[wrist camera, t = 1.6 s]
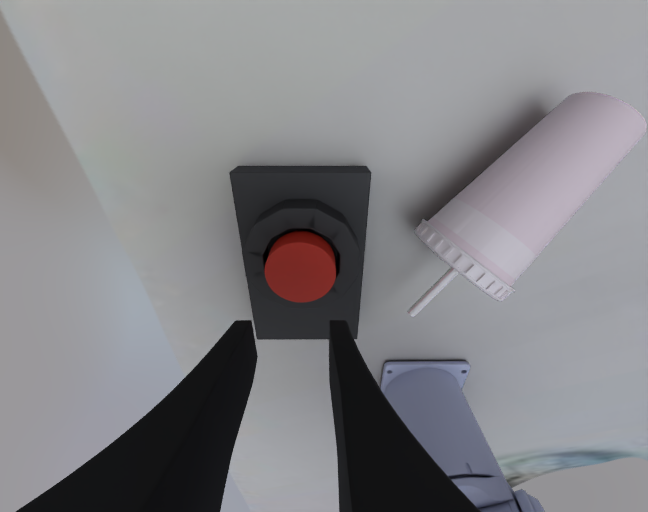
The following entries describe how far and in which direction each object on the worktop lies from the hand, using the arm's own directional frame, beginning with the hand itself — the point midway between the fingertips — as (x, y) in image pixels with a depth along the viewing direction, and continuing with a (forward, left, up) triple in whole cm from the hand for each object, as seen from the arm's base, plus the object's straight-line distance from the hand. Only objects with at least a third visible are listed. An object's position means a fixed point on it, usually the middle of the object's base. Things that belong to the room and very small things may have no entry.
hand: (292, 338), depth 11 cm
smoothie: (+8, -15, -7) cm, 18 cm away
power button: (0, 0, -6) cm, 6 cm away
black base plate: (-1, 0, -9) cm, 10 cm away
